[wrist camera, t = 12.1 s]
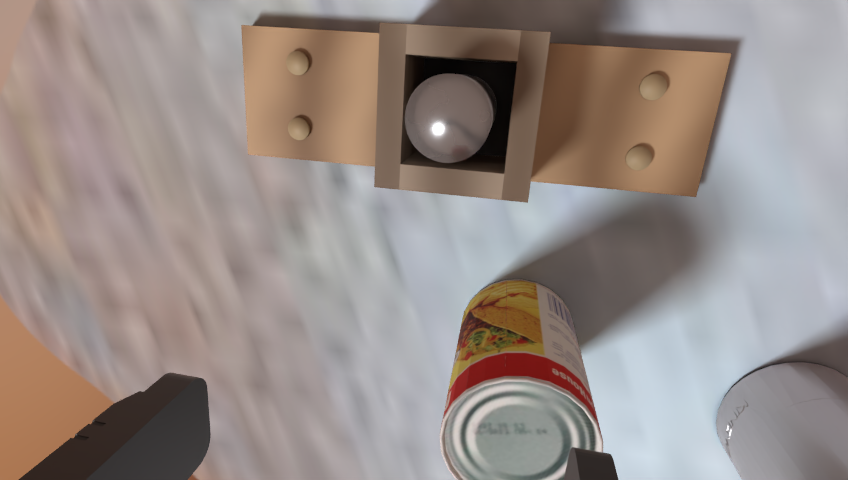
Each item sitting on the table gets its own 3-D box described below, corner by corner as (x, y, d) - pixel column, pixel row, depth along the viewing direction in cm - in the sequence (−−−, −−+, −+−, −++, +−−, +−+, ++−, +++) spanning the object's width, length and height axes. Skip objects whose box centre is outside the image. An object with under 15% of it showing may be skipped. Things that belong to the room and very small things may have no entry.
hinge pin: (500, 76, 30) (496, 76, 22) (493, 143, 32) (486, 166, 23) (435, 72, 31) (407, 70, 22) (431, 137, 32) (402, 159, 24)
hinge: (723, 50, 28) (777, 44, 22) (688, 195, 31) (728, 222, 25) (250, 23, 32) (194, 12, 26) (256, 154, 34) (207, 170, 29)
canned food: (439, 324, 36) (407, 436, 25) (520, 256, 34) (525, 348, 22) (512, 395, 37) (513, 535, 26) (597, 335, 35) (639, 461, 23)
